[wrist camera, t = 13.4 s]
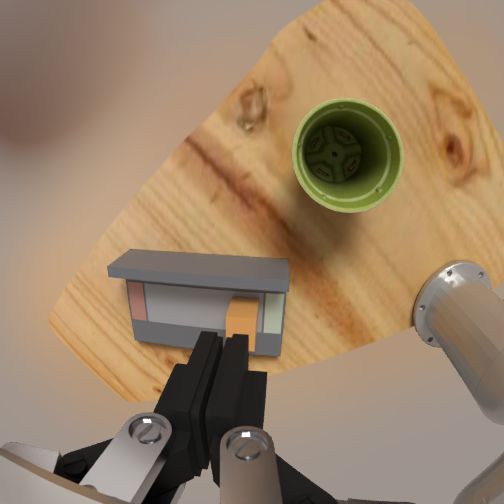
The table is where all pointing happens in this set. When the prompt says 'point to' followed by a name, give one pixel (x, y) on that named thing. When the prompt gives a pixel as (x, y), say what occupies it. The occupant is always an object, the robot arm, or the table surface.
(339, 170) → the plant pot
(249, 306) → the handle
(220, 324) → the switch panel
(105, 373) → the table surface
